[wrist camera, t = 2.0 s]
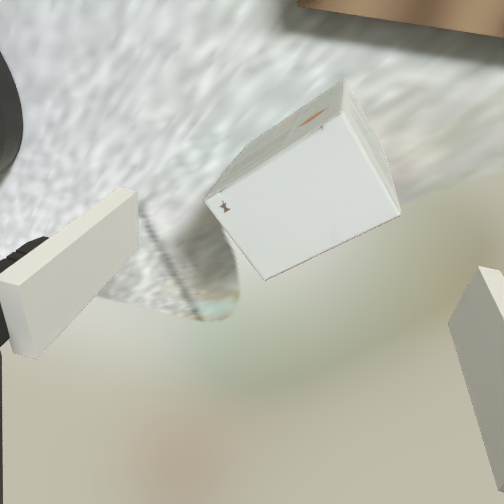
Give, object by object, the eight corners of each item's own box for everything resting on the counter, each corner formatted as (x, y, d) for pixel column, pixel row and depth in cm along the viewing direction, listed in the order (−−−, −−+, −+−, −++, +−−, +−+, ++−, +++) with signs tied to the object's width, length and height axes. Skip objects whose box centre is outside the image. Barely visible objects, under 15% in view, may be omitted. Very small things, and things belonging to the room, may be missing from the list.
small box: (287, 205, 30) (261, 285, 21) (245, 143, 28) (197, 202, 20) (387, 150, 27) (405, 218, 18) (345, 75, 25) (343, 109, 16)
